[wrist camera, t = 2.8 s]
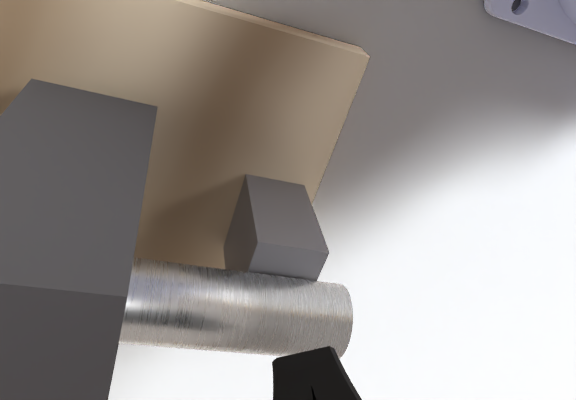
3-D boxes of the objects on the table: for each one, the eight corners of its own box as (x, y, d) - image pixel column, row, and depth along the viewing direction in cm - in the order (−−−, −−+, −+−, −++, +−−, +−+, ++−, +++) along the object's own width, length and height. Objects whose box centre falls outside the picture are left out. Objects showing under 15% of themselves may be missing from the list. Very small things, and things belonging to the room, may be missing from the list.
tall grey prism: (157, 106, 13) (127, 296, 7) (121, 300, 16) (81, 537, 10) (31, 78, 12) (-129, 269, 6) (21, 290, 15) (-85, 543, 9)
